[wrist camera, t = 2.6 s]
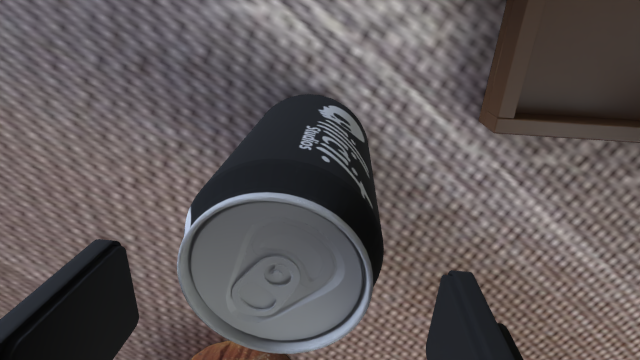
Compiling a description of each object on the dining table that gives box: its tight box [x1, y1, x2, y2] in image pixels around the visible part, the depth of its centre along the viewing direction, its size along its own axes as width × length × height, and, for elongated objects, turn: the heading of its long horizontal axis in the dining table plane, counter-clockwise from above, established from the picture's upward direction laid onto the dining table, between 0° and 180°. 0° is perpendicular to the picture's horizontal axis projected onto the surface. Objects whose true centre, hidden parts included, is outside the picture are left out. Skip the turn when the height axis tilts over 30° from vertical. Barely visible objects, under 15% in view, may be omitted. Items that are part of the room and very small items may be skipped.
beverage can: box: [177, 94, 384, 354], centre depth 16 cm, size 7×7×12 cm
